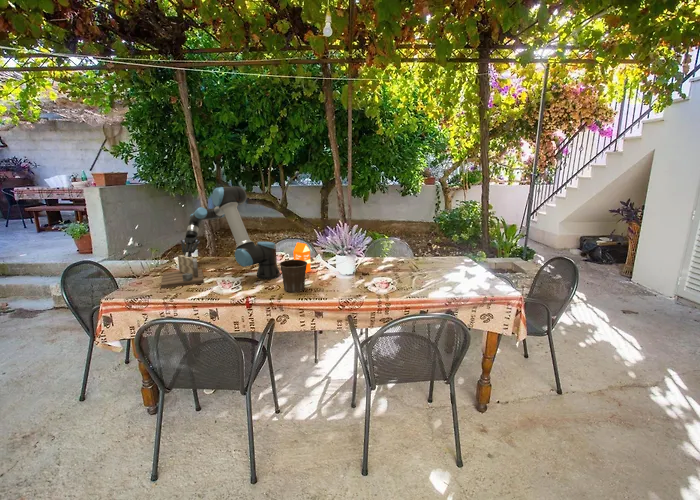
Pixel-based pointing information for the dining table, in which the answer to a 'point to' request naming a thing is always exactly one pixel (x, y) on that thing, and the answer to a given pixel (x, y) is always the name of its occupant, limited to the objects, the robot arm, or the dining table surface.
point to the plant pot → (293, 275)
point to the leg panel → (185, 264)
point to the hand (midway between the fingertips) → (186, 261)
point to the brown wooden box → (182, 277)
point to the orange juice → (302, 254)
